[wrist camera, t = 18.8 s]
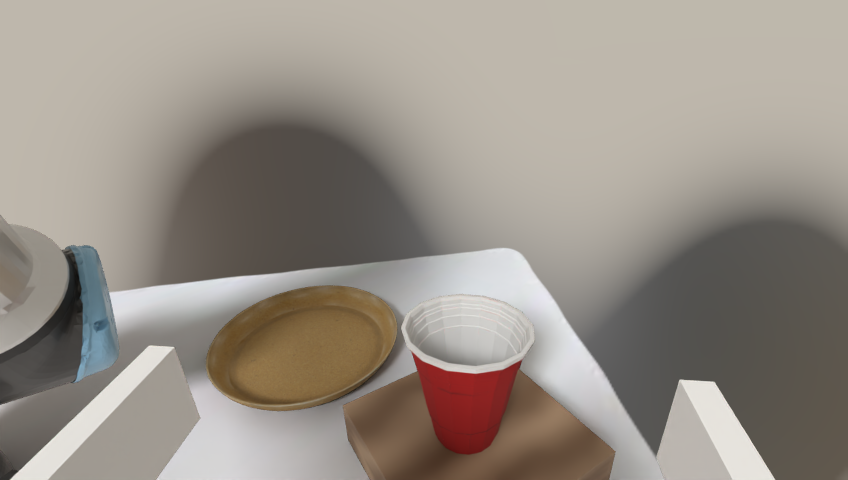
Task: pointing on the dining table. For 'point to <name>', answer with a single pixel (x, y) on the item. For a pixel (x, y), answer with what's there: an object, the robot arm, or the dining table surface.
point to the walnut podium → (481, 472)
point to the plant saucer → (301, 347)
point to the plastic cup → (467, 364)
